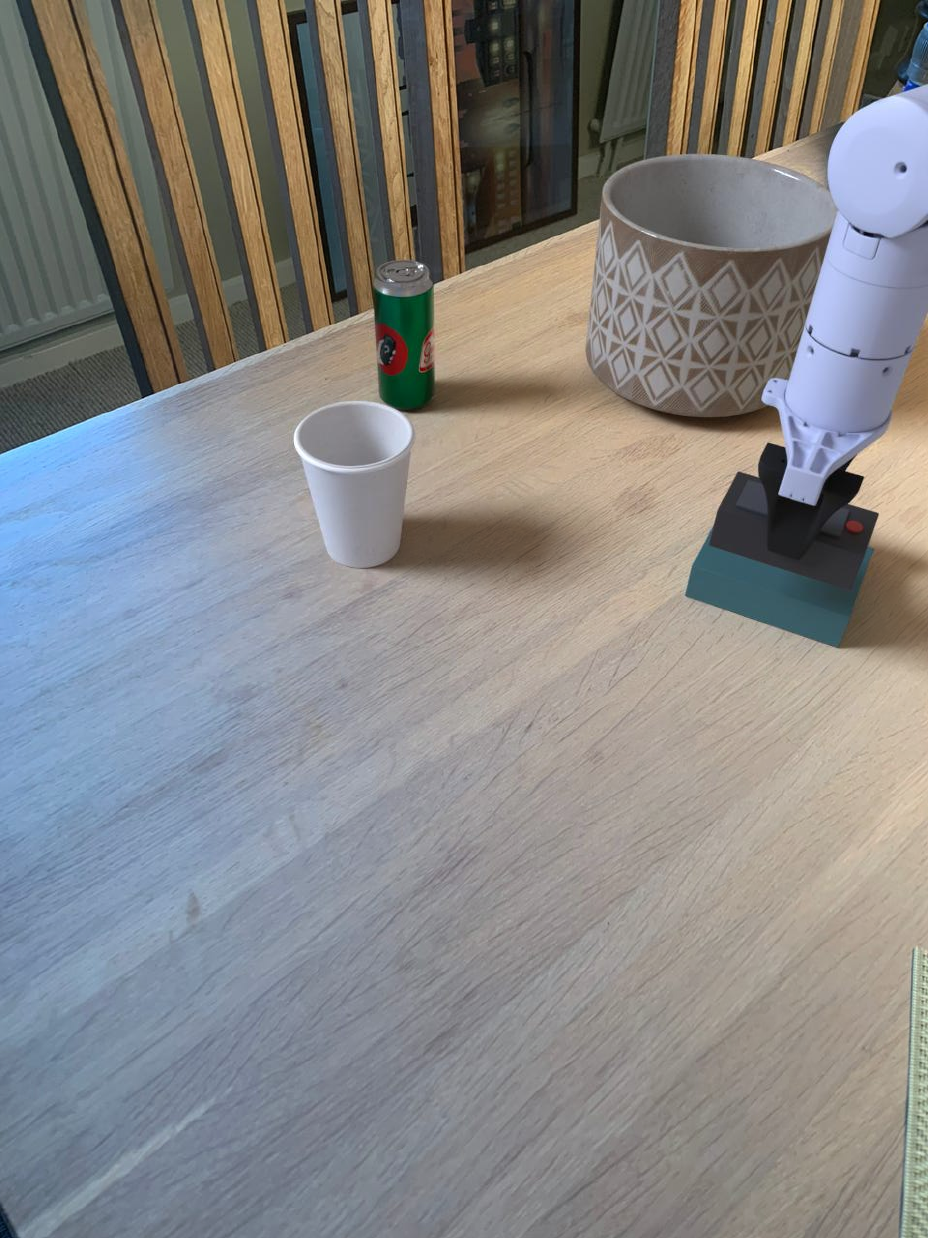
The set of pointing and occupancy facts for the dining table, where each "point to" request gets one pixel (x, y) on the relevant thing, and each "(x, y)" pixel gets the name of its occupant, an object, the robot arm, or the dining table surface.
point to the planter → (704, 280)
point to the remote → (825, 559)
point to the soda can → (404, 334)
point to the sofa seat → (774, 594)
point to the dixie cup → (357, 477)
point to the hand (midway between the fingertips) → (794, 528)
